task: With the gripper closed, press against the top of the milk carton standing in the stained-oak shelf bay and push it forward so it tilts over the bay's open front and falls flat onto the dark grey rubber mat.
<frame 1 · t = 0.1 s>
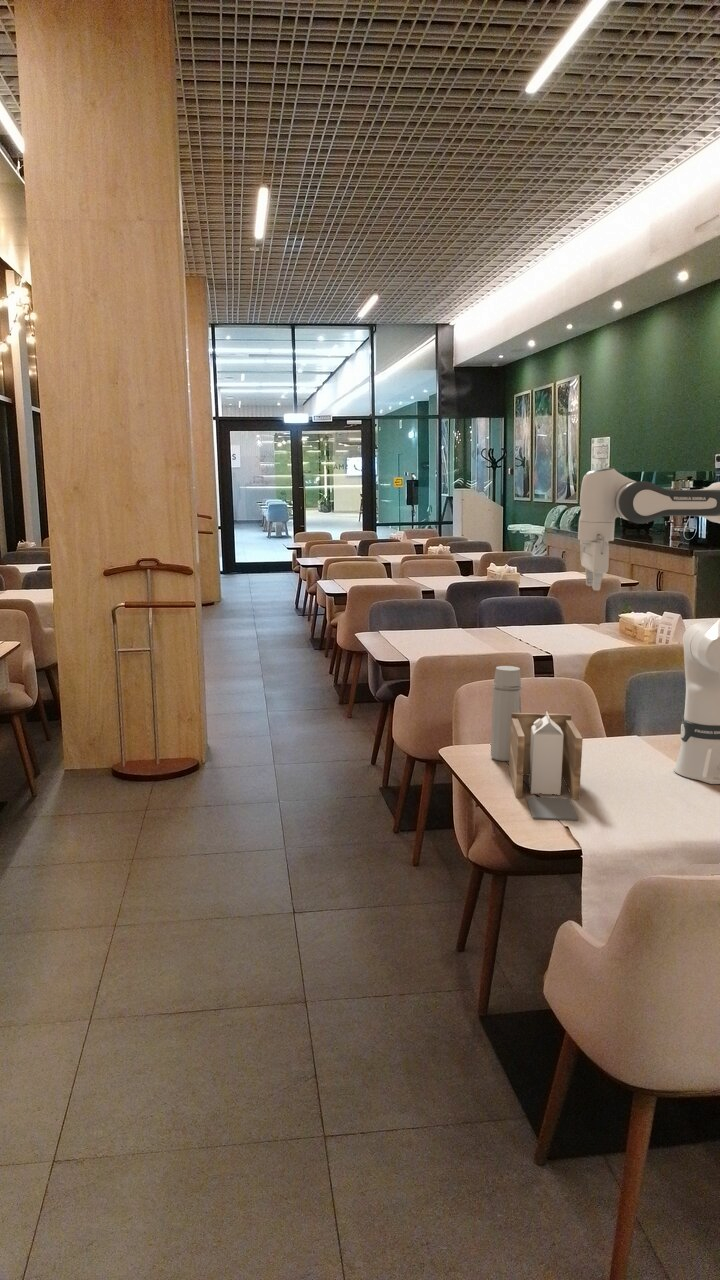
hand: (592, 588, 243), 48 cm above the table, fingers open, 8 cm apart
mat: (551, 809, 220), on the table
milk carton: (544, 791, 233), on the table
shelf bay: (542, 786, 236), on the table
water bottle: (506, 758, 260), on the table
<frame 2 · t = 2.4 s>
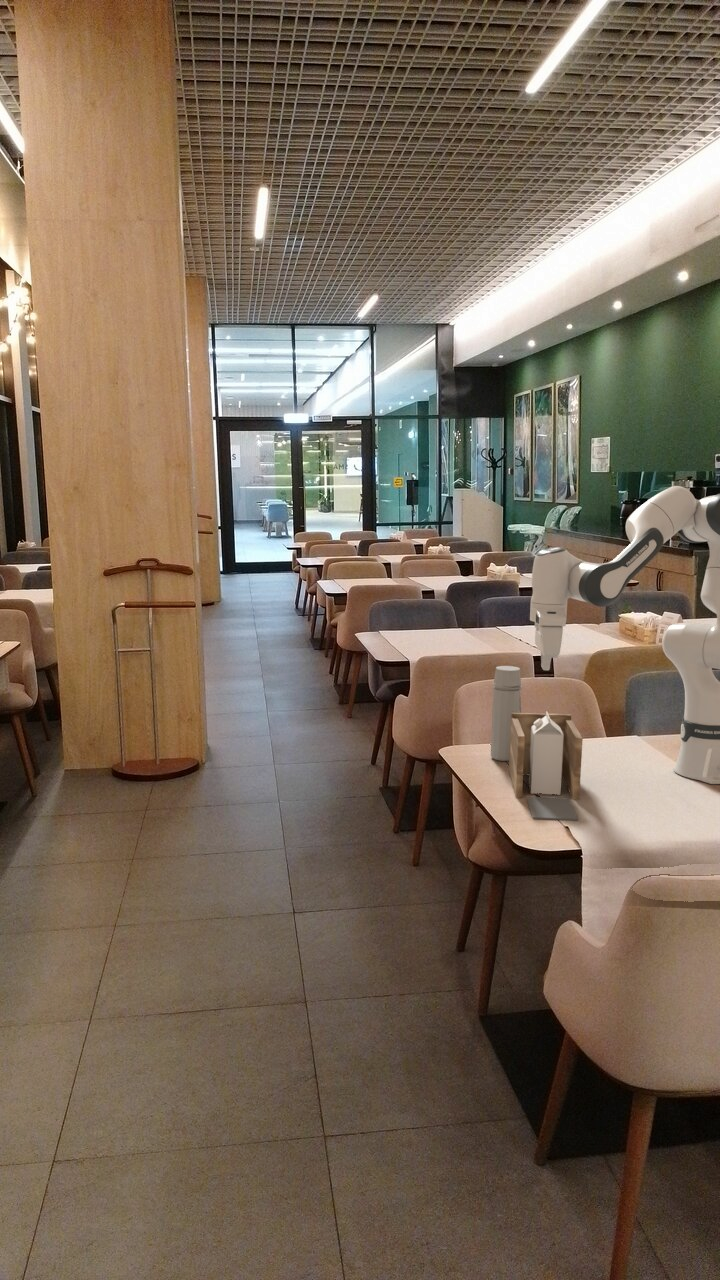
hand: (545, 669, 237), 28 cm above the table, fingers closed
nothing on the table moved.
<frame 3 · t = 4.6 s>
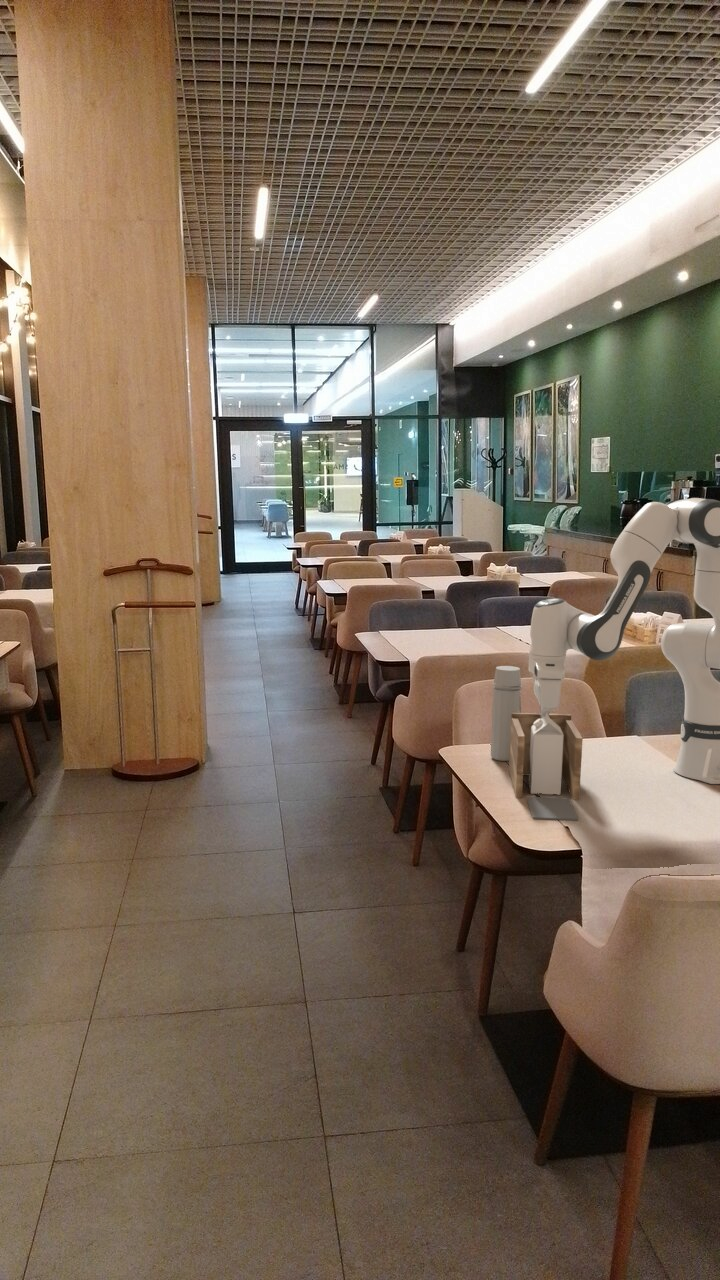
hand: (544, 720, 236), 16 cm above the table, fingers closed
milk carton: (544, 790, 233), on the table, touching gripper
everything else where it was.
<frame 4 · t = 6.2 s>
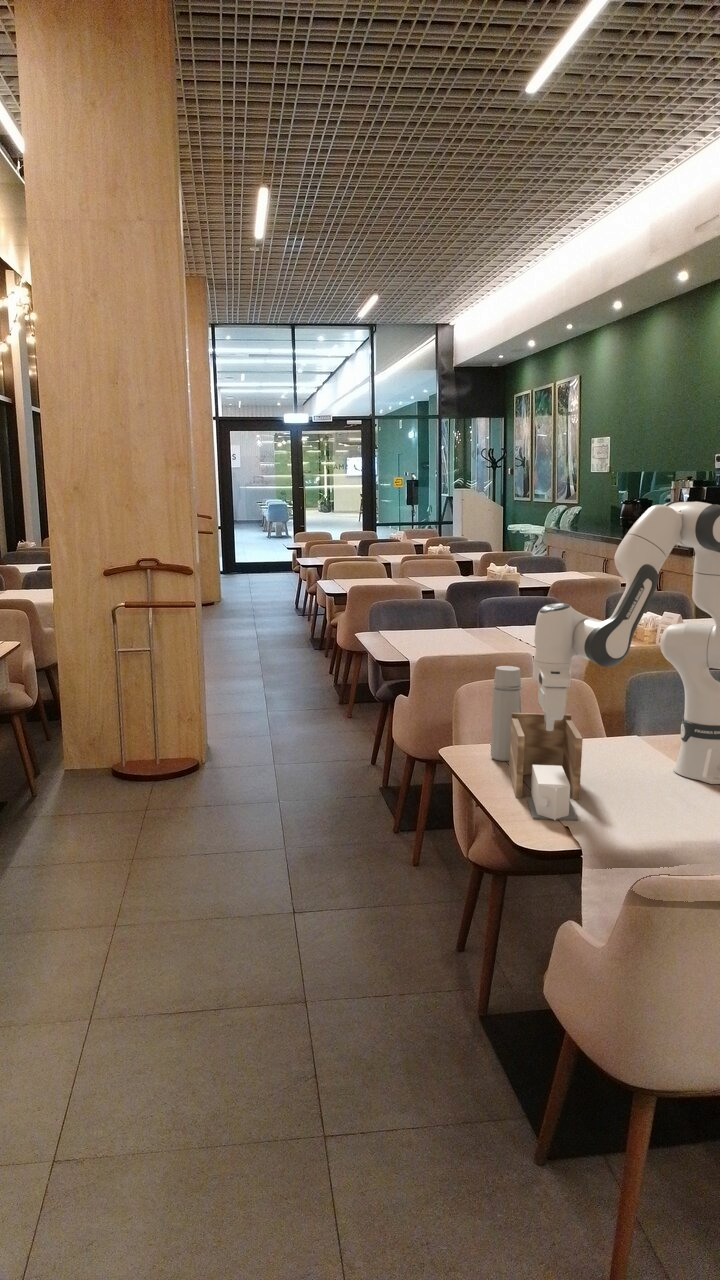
hand: (548, 729, 227), 16 cm above the table, fingers closed
milk carton: (546, 778, 229), point 4 cm above the table, touching mat
everything else where it was.
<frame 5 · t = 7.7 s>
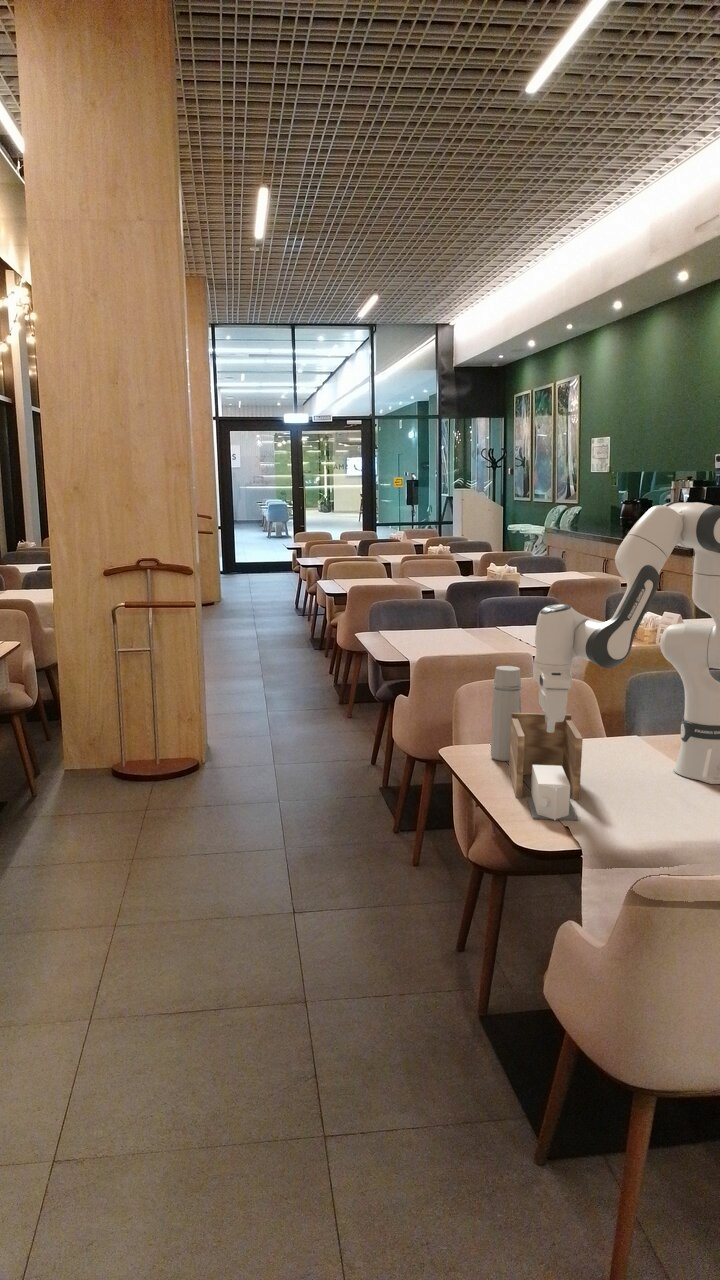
hand: (549, 731, 226), 16 cm above the table, fingers closed
nothing on the table moved.
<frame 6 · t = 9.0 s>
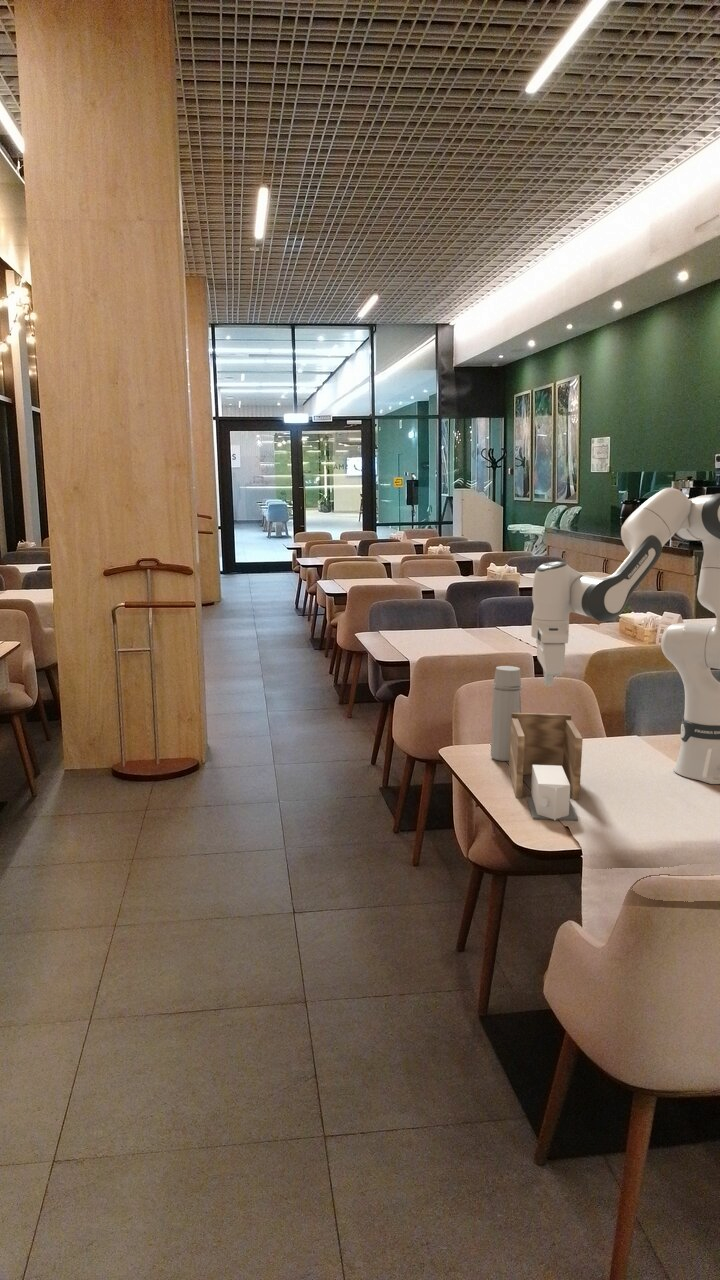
hand: (548, 685, 233), 25 cm above the table, fingers closed
nothing on the table moved.
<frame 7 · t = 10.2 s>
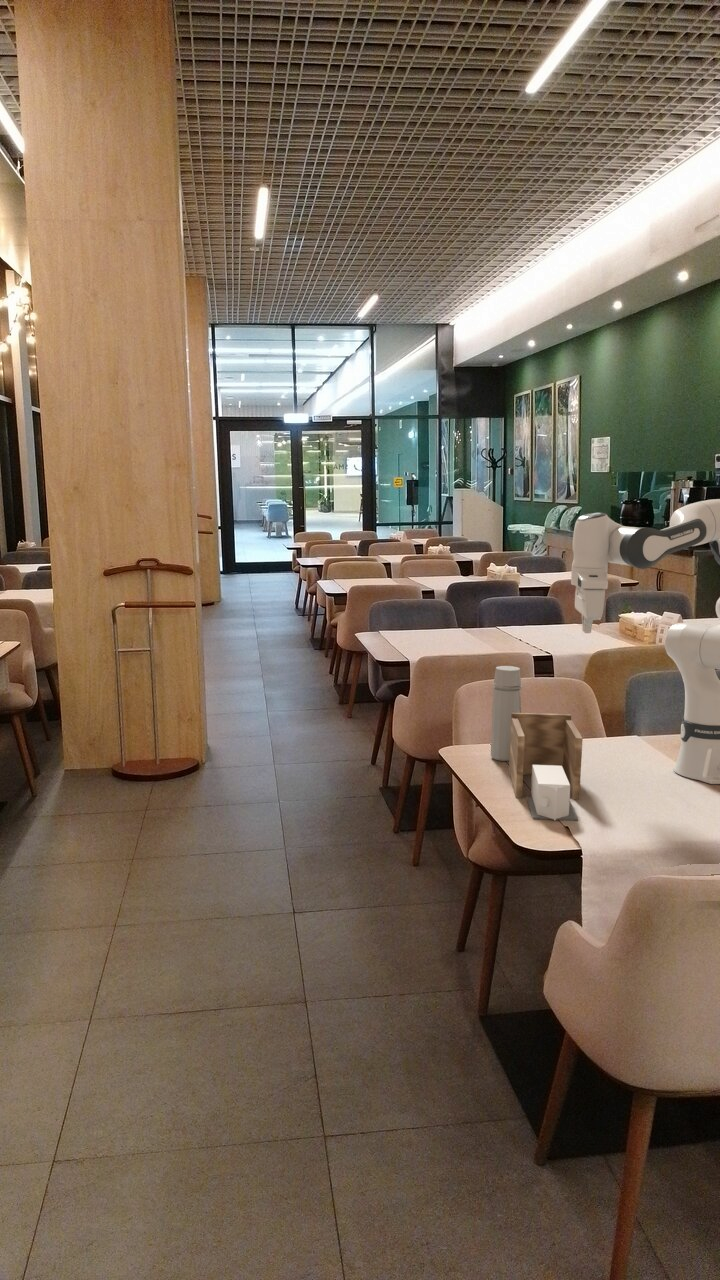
hand: (586, 632, 242), 37 cm above the table, fingers closed
nothing on the table moved.
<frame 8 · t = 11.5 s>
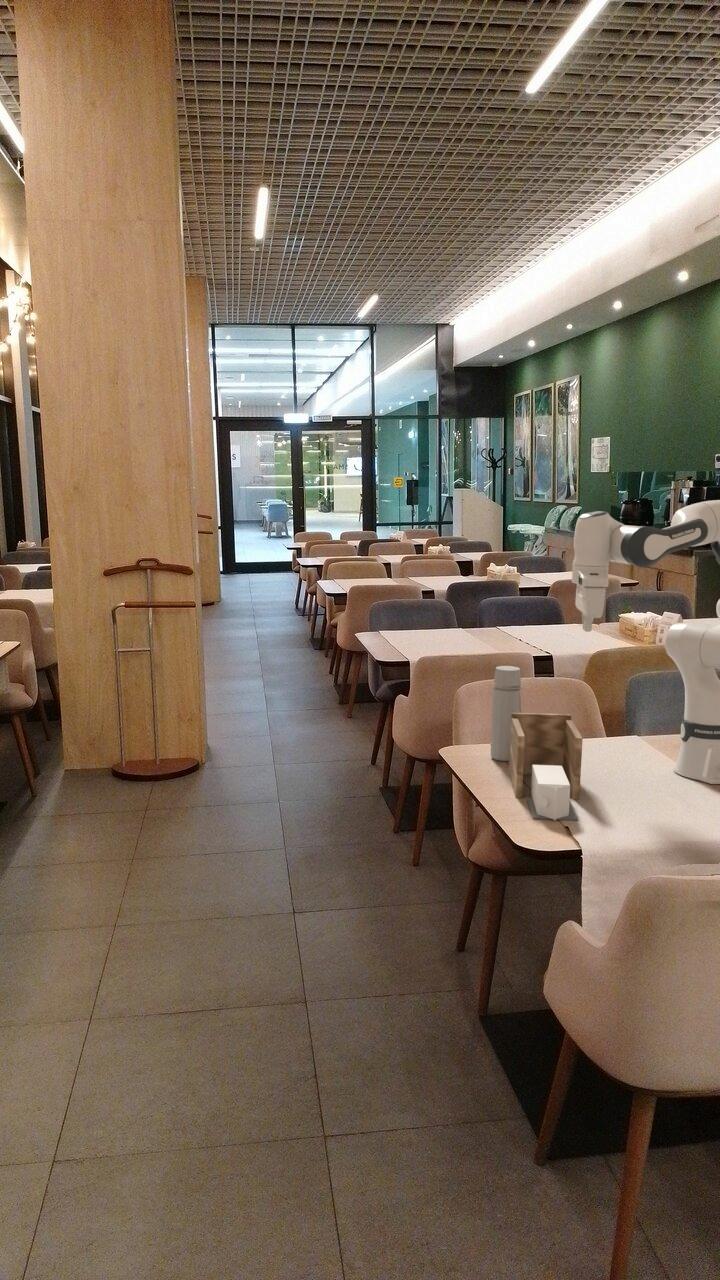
hand: (586, 630, 243), 37 cm above the table, fingers closed
nothing on the table moved.
at the end: milk carton tilted 90°; milk carton inside the target area (6.2 cm from its centre), point 4.0 cm above the table; the gripper is holding nothing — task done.
